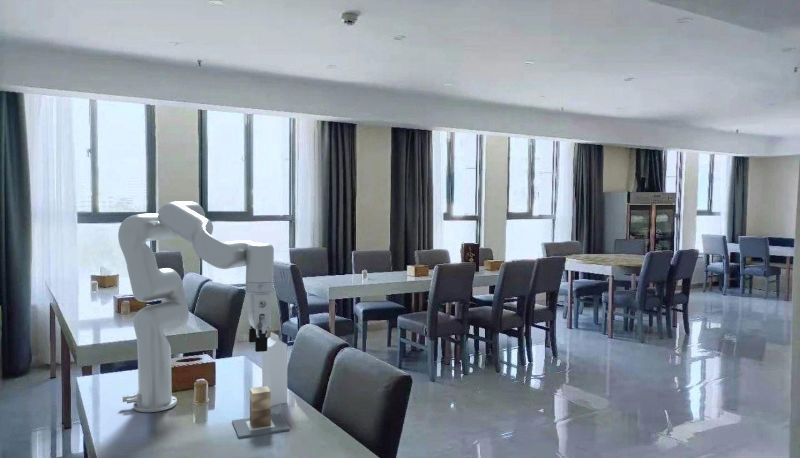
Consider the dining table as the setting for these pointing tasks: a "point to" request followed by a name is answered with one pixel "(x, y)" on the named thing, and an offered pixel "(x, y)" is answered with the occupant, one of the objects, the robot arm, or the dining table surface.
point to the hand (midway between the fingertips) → (257, 346)
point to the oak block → (260, 398)
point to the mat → (246, 430)
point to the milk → (275, 369)
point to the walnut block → (260, 418)
